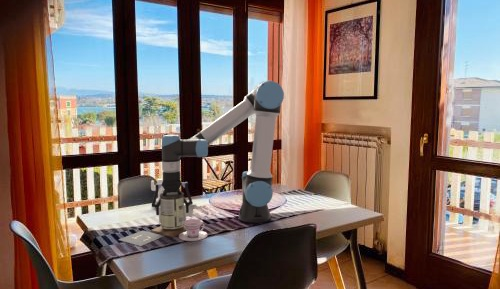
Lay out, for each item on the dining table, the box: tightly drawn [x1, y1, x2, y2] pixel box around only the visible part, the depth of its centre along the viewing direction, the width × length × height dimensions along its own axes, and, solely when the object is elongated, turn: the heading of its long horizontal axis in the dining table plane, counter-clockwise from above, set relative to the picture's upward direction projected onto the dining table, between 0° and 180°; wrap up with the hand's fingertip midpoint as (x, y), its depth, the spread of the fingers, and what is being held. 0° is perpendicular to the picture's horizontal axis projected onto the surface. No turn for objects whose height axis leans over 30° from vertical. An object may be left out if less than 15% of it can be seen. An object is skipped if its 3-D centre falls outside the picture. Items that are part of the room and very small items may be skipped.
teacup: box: [178, 218, 208, 242], centre depth 154 cm, size 12×12×6 cm
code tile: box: [118, 230, 165, 247], centre depth 152 cm, size 13×13×1 cm
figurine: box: [150, 177, 165, 207], centre depth 199 cm, size 7×9×15 cm
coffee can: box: [160, 191, 185, 229], centre depth 161 cm, size 10×10×14 cm
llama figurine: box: [186, 203, 209, 221], centre depth 175 cm, size 2×12×20 cm
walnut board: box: [150, 225, 187, 238], centre depth 162 cm, size 13×13×1 cm
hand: (172, 221), depth 161 cm, fingers closed on coffee can, 10 cm apart
